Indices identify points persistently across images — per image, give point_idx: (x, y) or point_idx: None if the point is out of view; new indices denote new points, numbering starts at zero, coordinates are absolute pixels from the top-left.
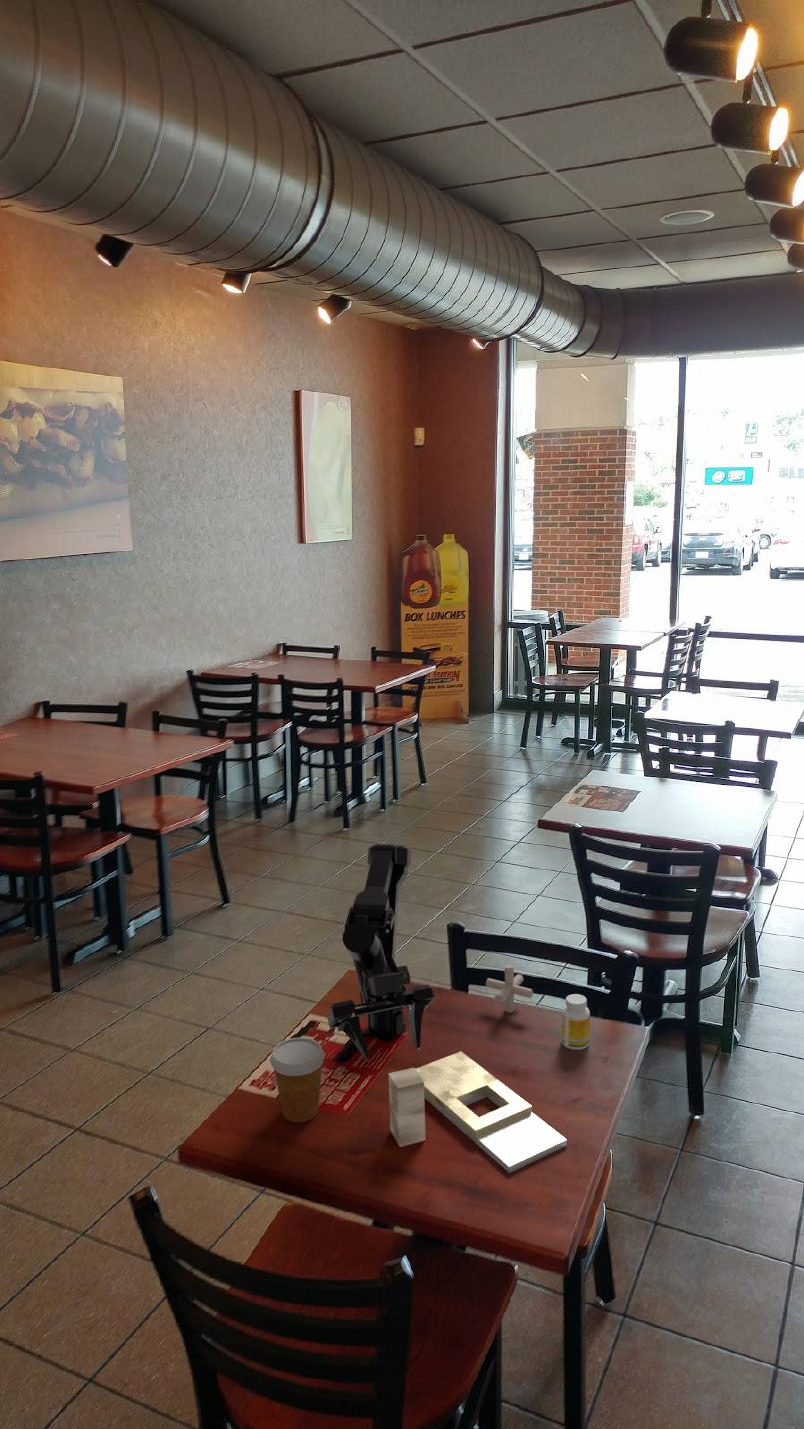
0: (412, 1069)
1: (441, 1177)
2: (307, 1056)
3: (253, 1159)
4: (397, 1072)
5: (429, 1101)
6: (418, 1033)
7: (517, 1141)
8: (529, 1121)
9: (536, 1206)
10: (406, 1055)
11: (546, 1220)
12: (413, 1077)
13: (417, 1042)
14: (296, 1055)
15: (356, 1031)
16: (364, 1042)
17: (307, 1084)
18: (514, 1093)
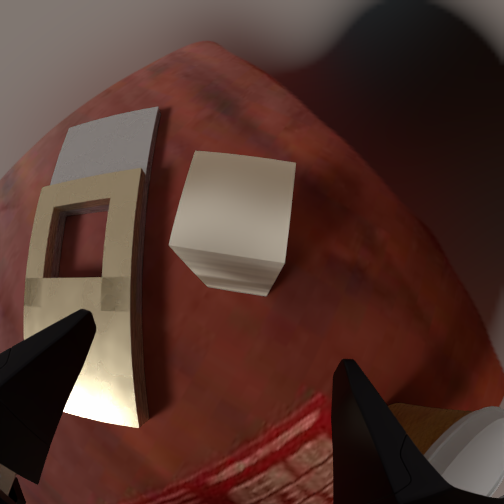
0: (182, 234)
1: (249, 141)
2: (470, 459)
3: (480, 332)
4: (247, 249)
5: (141, 337)
6: (40, 338)
7: (108, 142)
8: (65, 174)
9: (180, 71)
10: (117, 482)
11: (187, 58)
12: (210, 187)
13: (75, 320)
14: (481, 467)
15: (423, 476)
16: (373, 421)
17: (447, 412)
18: (33, 229)
